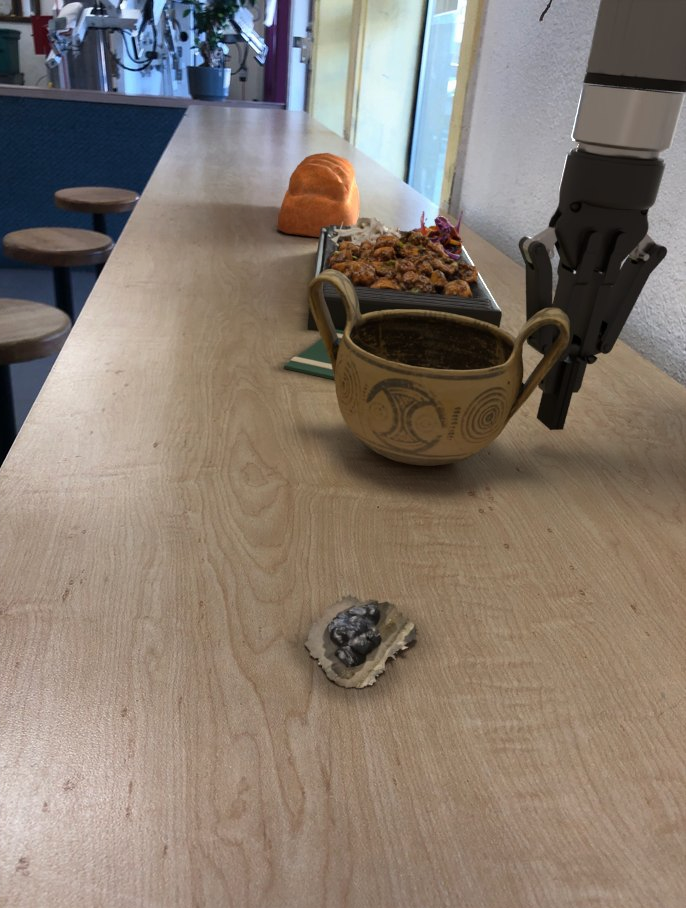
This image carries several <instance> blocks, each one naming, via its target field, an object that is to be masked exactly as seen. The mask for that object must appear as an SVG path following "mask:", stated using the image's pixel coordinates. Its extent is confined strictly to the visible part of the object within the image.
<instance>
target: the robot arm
mask: <svg viewBox="0 0 686 908" xmlns="http://www.w3.org/2000/svg"><path fill="white" fill-rule="evenodd" d="M586 63H587V64H586V68H585V74H584V78H583V82H582V83H583V84H582V87H581V91H580V96H579V99H578V100H579V101H578V105H577V110H576V115H575V118H574V124H573V128H572V131H571V139H572V141H574V143H575V142H576V143H577V146H576V147H573V148H571V149H570V151H569V152H567V153H566V156H565V162H564V165H563V171H562V176H561V180H560V184H559V188H558V205H557V207H556V210H555V211H554V213H553V214H552V215H551V217H550V219H549V221H548V227H546V228H545V229H544V230H542V231H541V232H539V233H538V234H536V235H535V236H533V237H530V236H529V235H525V236H522V237H521V238H520V240H519V241H518V249H519V251H520V255H521V256H522V259H523V263H524V264H525V323H526V322H527V321H528V320H529V319H530V318H531V317H533V316H534V315H535V314H536V313H537V312H539V311H541V310H543V309H545V308H559V309H560V310H562V311H563V312H564V313H565V314H566V315H567V316H568V319H569V321H570V329H569V342H568V345H567V347H566V348H565V350H564V351H563V353H562V354H561V356H560V357H559V358H558V360H557V361H556V362H555V364H554V365H553V366H552V367H551V369H550V370H549V371H548V373H547V374H546V375H545V376H544V378H543V379H542V380H541V382H540V383H539V384H538V386H537V387H538V389H539V390H541V391H542V393H541V398H540V401H539V405H538V410H537V412H536V419H537V420H538V421H539V422H540V423H542V424H543V425H544V426H545V427H546V428H547V429H548V430H550V431H563V430H564V428H565V423H566V420H567V415H568V412H569V408H570V404H571V401H572V397H573V394H574V393H575V394H576V393H577V394H578V393H579V391H580V389H581V388H582V384H583V381H584V377H585V373H586V369H587V365H593V364H594V363H596V361H597V360H598V357H597V356H596V355H599V354H603V355H607V354H609V353H611V352H612V351H613V348H614V347H615V344H616V342H617V340H618V339H619V336H620V334H621V333H622V330H623V329H624V326H625V325H626V323H627V321H628V319H629V317H630V315H631V312H632V311H633V309H634V307H635V305H636V303H637V301H638V300H639V297H640V295H641V293H642V291H643V290H644V287H645V285H646V283H647V281H648V280H649V278H650V275H651V274H653V272H654V270H656V268H657V267H658V266H659V265H660V264H661V263H662V261H663V260H664V259H665V258H666V256H667V254H668V248H667V247H666V246H665V245H662V244H659V243H656V242H655V241H654V239H652V237H651V236H650V235H649V234H648V232H649V230H650V229H649V228H650V223H649V219H648V215H649V211H650V208H652V207H653V206H654V205H655V203H656V201H657V198H658V193H659V190H660V186H661V183H662V180H663V175H664V172H665V169H666V166H667V164H666V163H665V159H664V158H663V157H661V155H662V153H664V152H667V151H669V150H670V149H672V146H673V142H674V138H675V135H676V131H677V128H678V124H679V120H680V116H681V113H682V109H683V105H684V101H685V99H686V0H600V2H599V6H598V10H597V16H596V19H595V25H594V30H593V35H592V39H591V44H590V49H589V54H588V59H587V62H586ZM554 247H555V249H556V252H557V255H558V257H559V259H558V260H559V261H558V264H557V270H556V273H557V277H558V278H557V283H556V288H555V293H554V296H553V277H554V276H553V275H554V274H553V265H552V259H554V257H555V252H554V250H555V249H554ZM560 332H561V330H560V329H559V328H558V326H557V325H555V324H546V325H543V326H541V327H540V328H538V329H537V330H536V331H534V332H533V333H532V334H531V335H530V336H529V337H528V338H527V339H526V344H527V345H528V346H529V347H531V348H533V349H534V350H535V351H537V352H538V353H539V354H540V355H543V356H544V355H545V354H546V353H547V351H548V350H549V349H550V347H551V346H552V345H553V343H554V342H555V341H556V339H557V338H558V336H559V334H560Z"/></svg>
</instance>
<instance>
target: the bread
mask: <svg viewBox="0 0 686 908" xmlns="http://www.w3.org/2000/svg"><path fill="white" fill-rule="evenodd" d="M287 188H288V189H286V191H285V194H284V196H283V200H282V203H281V205H280V208H279V212H278V215H277V219H276V225H277V230H278V231H280V232H282V233H284V234H288V235H293V236H294V235H295V236H303V237H313V238H319V236H320V229H321V227H328V226H329V225H342V222H343V225H342V226H349V224H351V225H355V224H356V221H357V219H358V218H359V214H360V210H361V209H360V208H361V207H360V194H359V188H358V186H357V183H356V172H355V169H354V165H353V164H352V163H351V162H350V161H349V160H348V159H346V158H344V157H341V156H338V155H335V154H333V153H329V152H323V153H322V152H321V153H320V152H319V153H313V154H311V155H308V156H306V157H304V159H303V160H301V162H300V163H299V164H298V165H297V166H296V168H295V169H294V170H293V171H292V173H291V175H290V177H289V181H288V187H287Z"/></svg>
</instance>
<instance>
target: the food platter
mask: <svg viewBox="0 0 686 908" xmlns="http://www.w3.org/2000/svg"><path fill="white" fill-rule="evenodd" d="M463 214H464V210H463V209H462V210H461V211H460V215H459V218H458V221H457V224H456V226H454V225H452V223H451V222H450V220H448V218H447V217H445V216H442V215H440V214H438V215H437V216H436V217H435V218H434V219H433V220H434V224H435V225H429V226H428V227H427V226H425V225H426V221H427V220H428V218H427V217H426V218H425V211H424V210H422V214H421V216H420V219H419V220H420V227H419V228H417V227H415V228H414V229H411V230H408V231H407V230H401V228H399V225H395V226H392V227H389V228H388V227H386V226H385V223H383V222H381V221H380V220H378V218H376V217H368V216H362V217H358V219H357V221H356V224H355V225H351V224H349V226H342V225H343V222H342V225H329V226H328V227H321V229H320V236H319V237H318V242H317V250H316V256H315V262H314V269H313V274H312V275H313V276H312V280H313V279H314V278H315V277H317V276H318V275H319V274H320V273H322V272H323V271H325V270H329V269H333V270H336V271H339V272H341V273H343V274H344V275H345V276H346V277H347V278H348V279H349V280H350V281H351V283H352V285H353V286H354V289H355V291H356V294H357V296H358V302H359V310H360V313H361V315H363V314H366V313H370V312H375V311H381V310H395V309H404V310H429V311H438V312H445V313H451V314H456V315H460V316H466V317H470V318H473V319H477V320H480V321H483V322H487V323H490V324H492V325H495V326H497V327H498V328H501V327H500V326H501V323H502V317H503V311H502V310H501V308H500V307H499V305H498V303H497V301H496V299H495V298H494V296H493V295H492V293H491V291H490V290H489V288H488V286H487V285H486V283H485V281H484V280H483V278H482V276H481V275H480V273H479V268H478V267H477V266H476V265H475V264H474V263H473V261H472V259H471V257H470V255H469V254H468V252H467V251H466V249H465V247H464V246H463V242H464V241H463V240H462V238H461V236H460V227H461V220H462V217H463ZM424 221H425V222H424ZM322 291H323V296H324V300H325V302H326V305H327V308H328V311H329V313H330V316H331V319H332V322H333V325H334V327H335V329H337V330H342V331H344V329H345V326H346V323H347V313H346V309H345V306H344V303H343V301H342V299H341V296H340V295H339V293H338V292H337V290H336V289H335V287H334V286H333V285H332V284H330V283H328V282H323V287H322ZM307 316H308V317H307V330H311V331H319V330H318V327H317V325H316V322H315V320H314V317H313V315H312V312H311V309H310V306H309V305H308V315H307Z"/></svg>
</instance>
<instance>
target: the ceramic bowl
mask: <svg viewBox="0 0 686 908" xmlns="http://www.w3.org/2000/svg"><path fill="white" fill-rule="evenodd" d="M323 282H328V283H330V284H332V285H333V286H334V287H335V289H336V290H337V292H338V293H339V295H340V296H341V299H342V301H343V303H344V306H345V309H346V313H347V323H346V326H345V329H344V333H343V337H342V339H341V342H339V339H338V336H337V333H336V330H335V327H334V325H333V322H332V319H331V316H330V313H329V311H328V308H327V305H326V302H325V300H324V296H323V291H322V287H323ZM307 302H308V307H309V306H310V309H311V312H312V315H313V317H314V320H315V322H316V325H317V327H318V330H317V331H318V333H319V335H320V337H321V338H320V339H322V340H323V343H324V346H325V349H326V351H327V354H328V356H329V359H330V361H331V365H332V369H333V374H334V379H335V380H334V385H335V394H336V400H337V405H338V408H339V412H340V414H341V417H342V419H343V420H344V422H345V424H346V425H347V427H348V428H349V430H350V431H351V433H352V434H353V435H354V436H355V437H356V438H357V439H358V440H359V441H360V442H361V443H363V444H364V445H365V446H366V447H368V448H369V449H371V451H373V452H374V453H376V454H378V455H380V456H382V457H384V458H387V459H389V460H392V461H395V462H397V463H402V464H407V465H412V466H424V467H425V466H426V467H432V466H433V467H434V466H442V465H449V464H452V463H456V462H459V461H461V460H465V459H467V458H471V457H472V456H474V455H476V454H477V453H478V452H480V451H481V450H483V449H485V448H486V447H488V446H489V445H490V444H491V443H493V441H495V440H496V439H497V438H498V437H499V436H500V435H501V433H502V432H503V430H504V429H505V427H507V425H508V423H509V422H510V420H511V419H512V418H513V417H514V415H516V414H517V412H518V411H519V410H520V409H521V408H522V406H523V405H524V403H526V401H527V400H528V399H529V398H530V397H531V395H532V394H533V393H534V391H535V390H536V389H537V387H538V384H539V383H540V382H541V380H542V379H543V378H544V376H545V375H546V374H547V373H548V371H549V370H550V369H551V367H552V366H553V365H554V364H555V362H556V361H557V360H558V358H559V357H560V356H561V354H562V353H563V351H564V350H565V348H566V347H567V345H568V342H569V329H570V321H569V319H568V316H567V315H566V314H565V313H564V312H563V311H562V310H560V309H559V308H545V309H543V310H541V311H539V312H537V313H536V314H535V315H534V316H533V317H531V318H530V319H529V320H528V321H527V322H526V321H525V323H524V324H523V325H522V327H521V329H520V330H519V331H518V333H517V335H516V337H514V335H512V334H511V333H510V332H508V331H506V330H504V329H503V328H501V327H499V328H498V327H497V326H495V325H492V324H490V323H487V322H483V321H480V320H477V319H473V318H470V317H466V316H460V315H456V314H451V313H445V312H438V311H429V310H404V309H395V310H381V311H375V312H370V313H366V314H363V315H361V313H360V310H359V302H358V296H357V294H356V291H355V289H354V286H353V285H352V283H351V281H350V280H349V279H348V278H347V277H346V276H345V275H344V274H343V273H341V272H339V271H336V270H333V269H329V270H325V271H323V272H322V273H320V274H319V275H318V276H317V277H315V278H314V279H313V278H312V280H311V281H310V282H309V284H308V286H307ZM546 324H555V325H557V326H558V328H559V329H560V330H561V332H560V334H559V336H558V338H557V339H556V341H555V342H554V343H553V345H552V346H551V347H550V349H549V350H548V351H547V353H546V354H545V355H543V356H542V358H541V360H539V362H538V363H537V364H536V367H534V369H533V370H532V372H531V373H530V374H529V376H528V377H527V379H526V381H525V382H524V371H525V370H524V361H523V360H524V359H523V351H524V344H525V342H526V341H527V338H528V337H529V336H530V335H531V334H532V333H533V332H534V331H536V330H537V329H538V328H540V327H541V326H543V325H546Z"/></svg>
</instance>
